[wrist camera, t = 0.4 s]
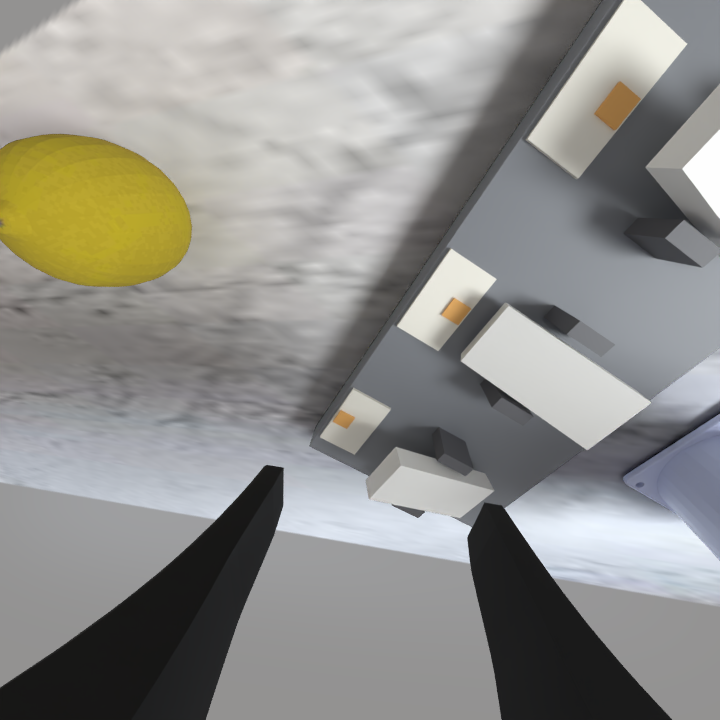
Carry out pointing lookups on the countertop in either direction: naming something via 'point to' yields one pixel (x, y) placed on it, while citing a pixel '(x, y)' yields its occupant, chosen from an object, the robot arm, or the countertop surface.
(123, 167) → the lemon
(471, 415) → the switch panel
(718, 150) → the switch
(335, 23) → the countertop surface
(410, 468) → the switch
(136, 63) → the countertop surface
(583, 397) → the switch mid
